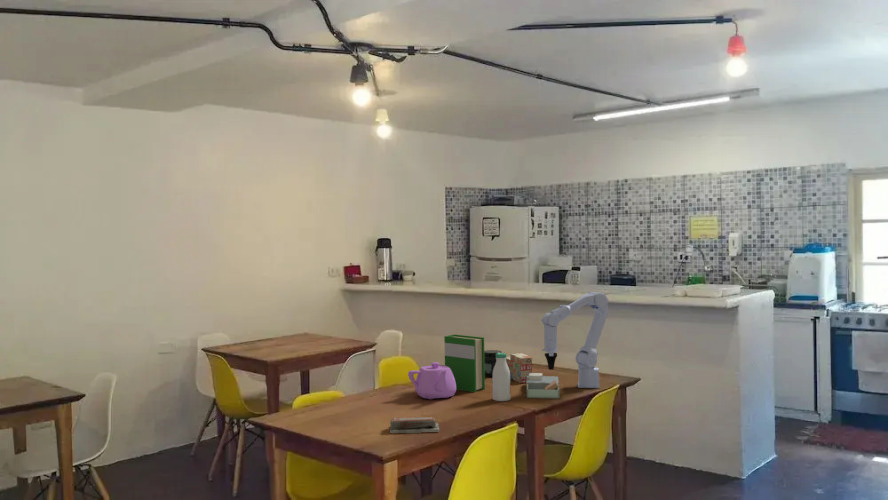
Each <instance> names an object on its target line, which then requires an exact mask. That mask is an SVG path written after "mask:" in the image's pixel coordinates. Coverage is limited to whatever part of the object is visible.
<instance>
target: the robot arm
mask: <svg viewBox="0 0 888 500" xmlns="http://www.w3.org/2000/svg"><path fill="white" fill-rule="evenodd" d="M608 303H609V299H608V296H607V295H606V294H605V293H603V292H595V291H589V292H587V293H584V294H583V295H582V296H580V297H579V298H577V299H576V300H575V301H573V302H571V303H570V304H568V305H566V304H560V305H559V307H558V308H556V309H554V310H553V309H552V310H551V312H546V313H545V314H543V316H542V318H541V322H542V324H543V332H544V333H543V335H544V338H543V339H544V343H543V345H544V347H543V348H541V351H542V352H545V353H544V357H545V359H546V362H547V366H548V367H547V368H548V370H554V368H555V363H556V359H557V357H558V353H557V352H558V350H559V349H558V325H559V323H560V322H561V321H563V320H565V319H568V318H569V317H571V316H572V312H574V311H577V310H579V309H580V308H582V307H585V306H586V305H588V306H590V307H591V308H592V310H593V312H594V315H593V319H592V323H591V325H590V328H589V330H588V332H587V333H588V334H587V337H586V340H585V342H584V345H583V346H581V347H580V349H579V351H578V353H576V355H575V362H576V363H577V367H578V370H577V371H578V382H577V388H579V389H582V388H583V389H599V388H600V370H599V369H600V368H599V367H595V366H596V365H597V364H598V352H597V346H598V344H599V341H600V339H601V335H602V332H603V329H604V326H605V324H606V321H607V317H608V314H609V307H608V305H609V304H608Z"/></svg>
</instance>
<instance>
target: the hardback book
mask: <svg viewBox="0 0 888 500" xmlns="http://www.w3.org/2000/svg"><path fill="white" fill-rule="evenodd" d="M443 338H444V365H445V366H448V367H449V368H450V369H451V371H452V373H453V376H454V378H455V382H456V390H458V391H464V392H471V393H477V391H478V390H481V391H485V390H486V379H485V378H486V376H485V361H484V351H485V337H482V336H475V335H463V334H451V335H444V337H443Z"/></svg>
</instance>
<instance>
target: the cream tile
mask: <svg viewBox="0 0 888 500" xmlns="http://www.w3.org/2000/svg"><path fill="white" fill-rule="evenodd" d="M542 376H543V373H542V372H532V373H529V380H542Z"/></svg>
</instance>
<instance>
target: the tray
mask: <svg viewBox="0 0 888 500" xmlns="http://www.w3.org/2000/svg"><path fill="white" fill-rule="evenodd" d="M558 386H559V387H557V390H532V389H528V384H527V386H526V398H527V399H560V384H559V385H558Z"/></svg>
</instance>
